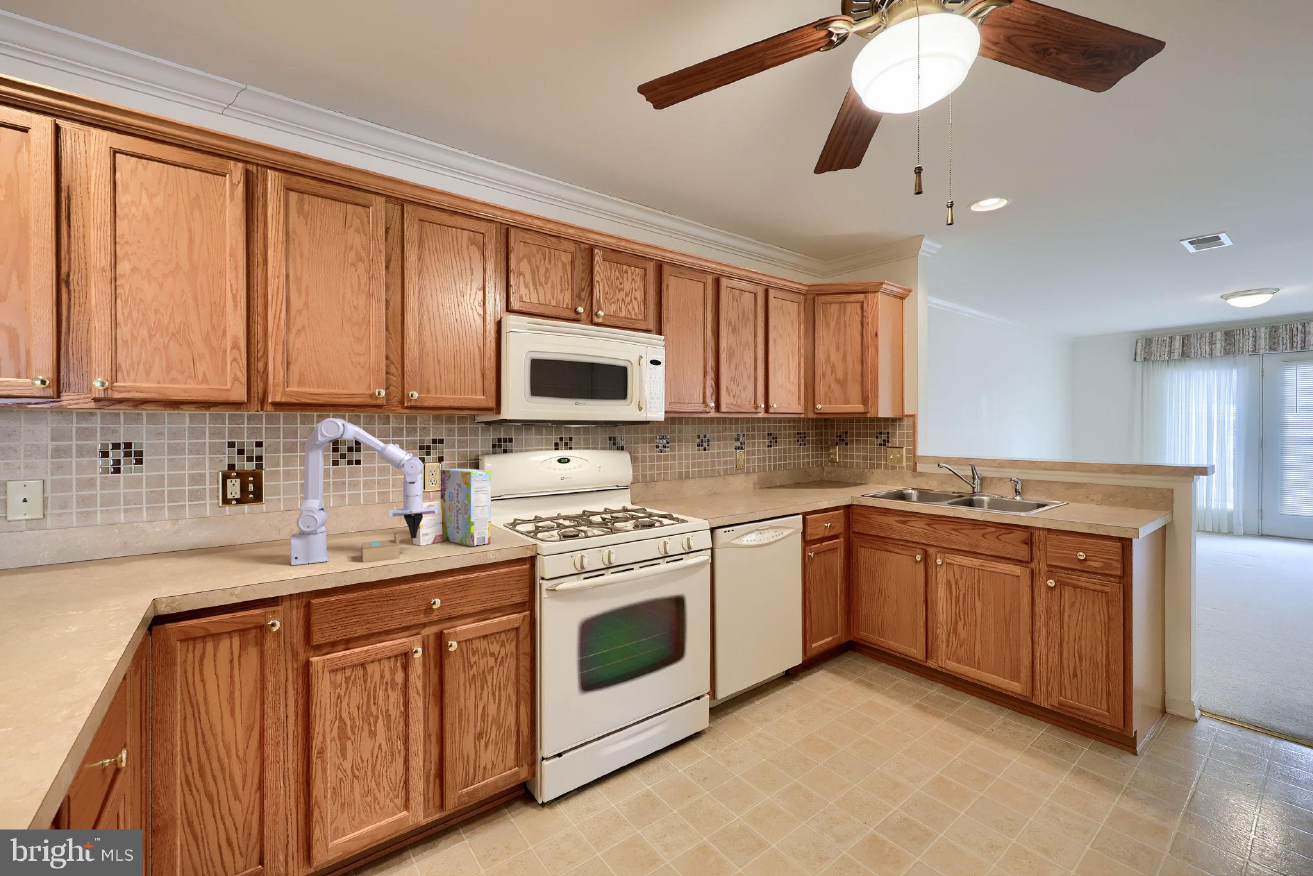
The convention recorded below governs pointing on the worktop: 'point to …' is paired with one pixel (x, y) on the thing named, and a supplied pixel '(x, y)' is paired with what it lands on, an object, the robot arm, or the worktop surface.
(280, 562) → the worktop surface
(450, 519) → the snack box
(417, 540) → the ink cartridge box
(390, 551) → the mailer tray
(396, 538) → the mailer lid
